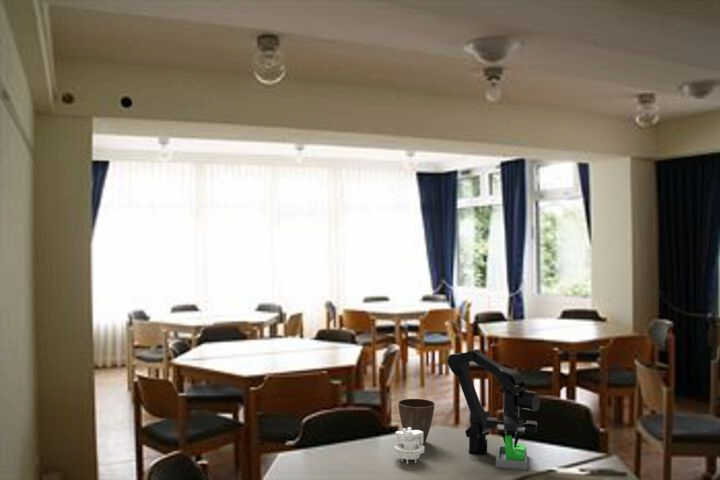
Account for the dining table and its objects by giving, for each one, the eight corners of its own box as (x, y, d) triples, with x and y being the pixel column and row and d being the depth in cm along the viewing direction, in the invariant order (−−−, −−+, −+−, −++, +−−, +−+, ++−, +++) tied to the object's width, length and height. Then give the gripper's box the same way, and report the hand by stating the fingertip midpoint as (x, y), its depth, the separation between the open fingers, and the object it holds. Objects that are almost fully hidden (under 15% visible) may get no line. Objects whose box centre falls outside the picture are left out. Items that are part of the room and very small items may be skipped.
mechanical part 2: (523, 460, 229) (521, 437, 230) (506, 459, 231) (504, 437, 232) (526, 449, 241) (524, 428, 241) (510, 449, 243) (508, 428, 243)
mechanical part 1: (400, 467, 229) (400, 434, 230) (390, 456, 241) (390, 425, 241) (429, 464, 232) (429, 432, 232) (417, 454, 244) (418, 423, 244)
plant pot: (399, 435, 268) (399, 397, 268) (434, 437, 266) (435, 399, 266) (396, 446, 253) (396, 406, 253) (434, 448, 251) (434, 408, 251)
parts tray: (495, 467, 230) (495, 459, 230) (497, 453, 246) (497, 445, 246) (527, 470, 227) (527, 462, 227) (526, 455, 244) (526, 447, 244)
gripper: (484, 409, 231) (483, 451, 231) (538, 413, 227) (537, 457, 227) (486, 401, 242) (485, 442, 242) (537, 405, 238) (536, 447, 238)
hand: (510, 447), depth 237 cm, fingers closed on mechanical part 2, 3 cm apart
